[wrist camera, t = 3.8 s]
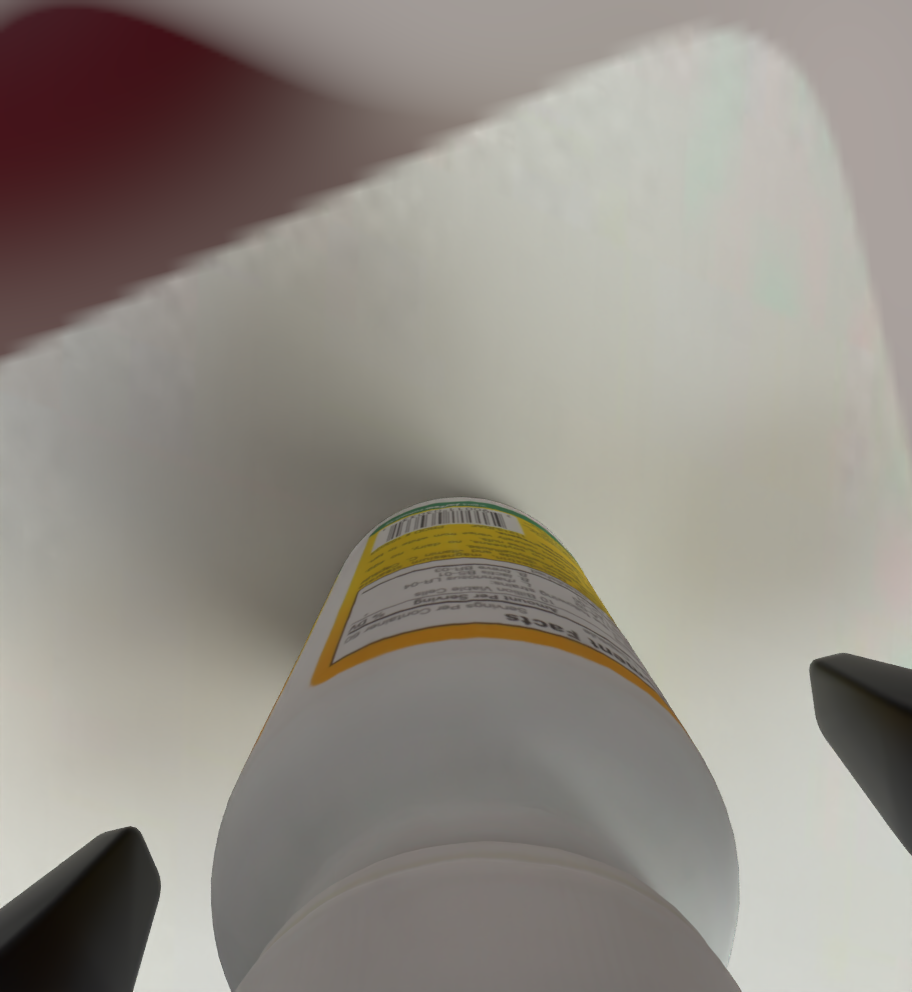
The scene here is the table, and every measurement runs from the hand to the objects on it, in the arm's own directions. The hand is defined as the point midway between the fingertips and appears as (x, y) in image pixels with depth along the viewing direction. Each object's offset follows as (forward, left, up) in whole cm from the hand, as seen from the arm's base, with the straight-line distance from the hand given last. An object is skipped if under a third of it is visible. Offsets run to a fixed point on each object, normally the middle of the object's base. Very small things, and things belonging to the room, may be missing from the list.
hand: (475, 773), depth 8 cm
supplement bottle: (0, 0, -5) cm, 5 cm away
